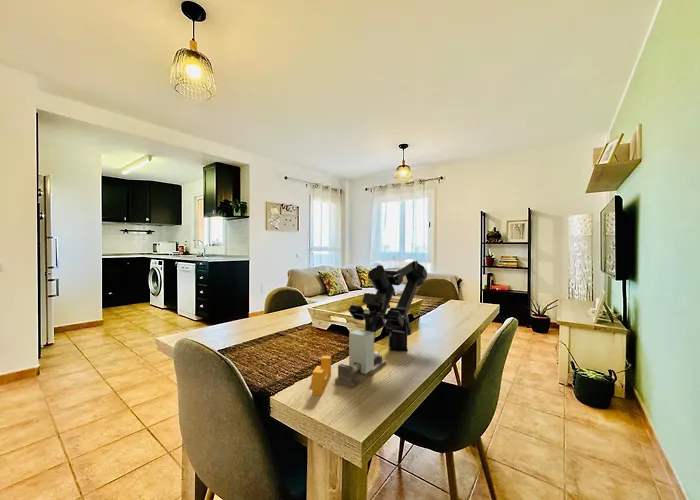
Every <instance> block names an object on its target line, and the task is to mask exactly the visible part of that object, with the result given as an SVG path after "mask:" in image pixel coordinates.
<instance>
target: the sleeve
mask: <svg viewBox="0 0 700 500" xmlns="http://www.w3.org/2000/svg"><path fill="white" fill-rule="evenodd" d="M348 335H349V337H348V339H349V340H348V347H349V349H348V350H349V351H348V354H349V355H348V366H353V365H355V364H356V363H360V364H361V373H364V374H366V373H368V372H369V371H371V370H372V369H373V368H374V352H375V333H374V332H370V331H365V329H359V328H357V329H355V330H353V331H351V332H349V334H348Z"/></svg>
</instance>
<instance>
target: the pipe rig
mask: <svg viewBox="0 0 700 500" xmlns="http://www.w3.org/2000/svg"><path fill="white" fill-rule="evenodd" d="M337 365H338V366H337V377H336V378H334V383H335V384H337V385H339V386H343V387H346V388H348V389H352V390H353V389H355V388H356V387H357V386H359V384H361V383H362V382H364V381H365V380H367V379H368V378H370V377H371V376H372V375H373V374H374V373H377V372H378V371H379V370H380V369H381V368H383V367H384V366H386V365H387V360H385V359H383V355H381V354H380V352H379V351H377V350H376V351H374V368H373V369H372V370H371V371H369V372H368V373H366V374H364V373H361V364H360V363H356V364H355V365H353V366H349V364H344V363H339V364H337Z"/></svg>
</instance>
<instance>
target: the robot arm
mask: <svg viewBox="0 0 700 500" xmlns="http://www.w3.org/2000/svg"><path fill="white" fill-rule="evenodd" d="M404 277H405V278H406V283H405V285H404V288H403V290H402V293H401V295H400V297H399V300H398V302H397V304H396V305H395V306H396V307H393V306H392V307H391V305H390V303H391V300H392V298H393V297H395V296H396V292H395V287H394V286H397V287H398V286H400V285H401V284H402V283H403V282H404ZM427 277H428V271H427V270H426V267H425V266H424V265H422V264H421V263H419V262H418V260H415V259H404V261H403V262H401V263H399V264H398V265H396V266H395V267H390V268H389V267H388V268H384V265H381V264H377V266H376V267H374V268H372V269H370V270H369V271H368V273H367V278H368V279H369V281H370V283H371V285H372V286H373V288H374V289H375V290H376V292H375V293H367V292H364V294H363V297H362V298H363V299H362V301H361V302H362V303H363V304H365V307H366V309H364V308H363V306H362V305H359V304H351V305H350V306H349V307H348V312H349V313H350V316H351V317H352V318H353V319H354V320H357V321H365V322H364V323H365V325H364V327H365V328H364V330H365V331H370V332H374V334H375V333H376V332H378V331H379V330H380V329H382V328H383V327H385V331H386V333H389V334H388V348H389V349H390V351H391V352H408V351H409V349H408V336H411V333H412V328H413V327H412V325H411V323H410V322H409V321H410V319H409V316H408V313H409V310H410V308H411V305H412V302H413V299H414V298H415V295H416V292H417V290H418V287H420V286H423V284H424V283H425V281H426V279H427Z"/></svg>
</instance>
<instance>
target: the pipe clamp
mask: <svg viewBox="0 0 700 500" xmlns="http://www.w3.org/2000/svg"><path fill="white" fill-rule="evenodd" d="M331 377H332V356H331V355H322V356H321V361H320V365H316V367H315V368H314V369H313V371H312V376H311V386H312V388H311V391H312V396H315V397H322V396H323V394H324V392H325V391H326V388H327V385H328V383H329V381H330V380H331Z"/></svg>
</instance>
